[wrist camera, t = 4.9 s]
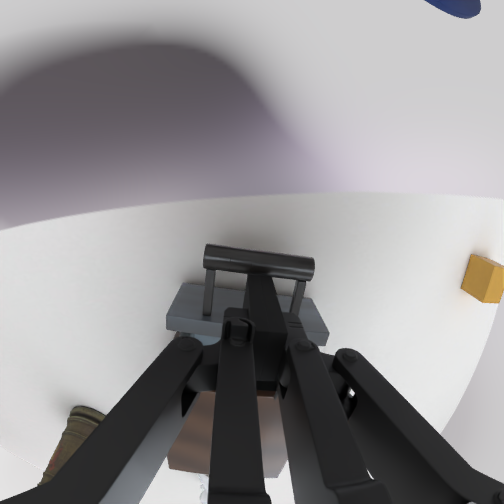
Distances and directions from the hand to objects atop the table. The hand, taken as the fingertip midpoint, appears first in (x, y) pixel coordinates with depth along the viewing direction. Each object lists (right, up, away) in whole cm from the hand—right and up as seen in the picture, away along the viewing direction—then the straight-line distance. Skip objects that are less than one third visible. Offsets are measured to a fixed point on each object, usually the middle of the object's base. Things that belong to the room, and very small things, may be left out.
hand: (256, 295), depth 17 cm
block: (+28, 0, +8) cm, 29 cm away
